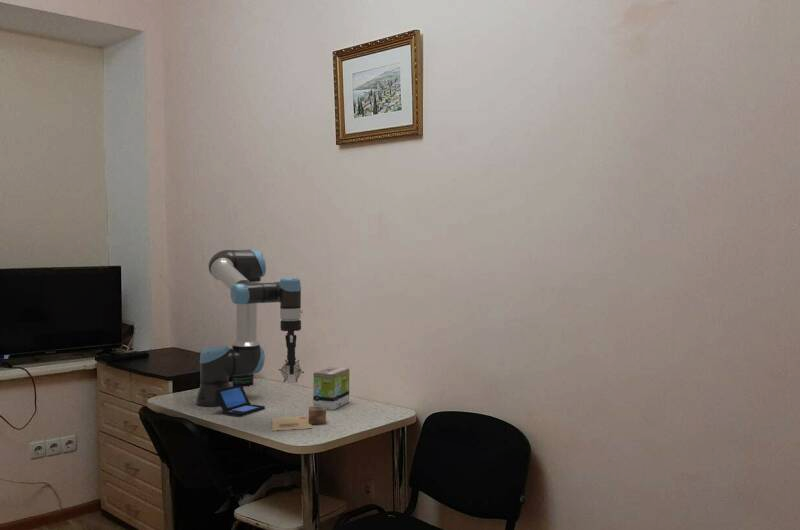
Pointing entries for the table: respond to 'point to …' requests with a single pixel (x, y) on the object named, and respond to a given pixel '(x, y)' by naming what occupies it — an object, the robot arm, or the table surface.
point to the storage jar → (243, 380)
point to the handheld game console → (236, 401)
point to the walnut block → (317, 415)
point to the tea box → (331, 388)
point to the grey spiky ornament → (285, 371)
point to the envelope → (290, 423)
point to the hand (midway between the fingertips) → (291, 380)
